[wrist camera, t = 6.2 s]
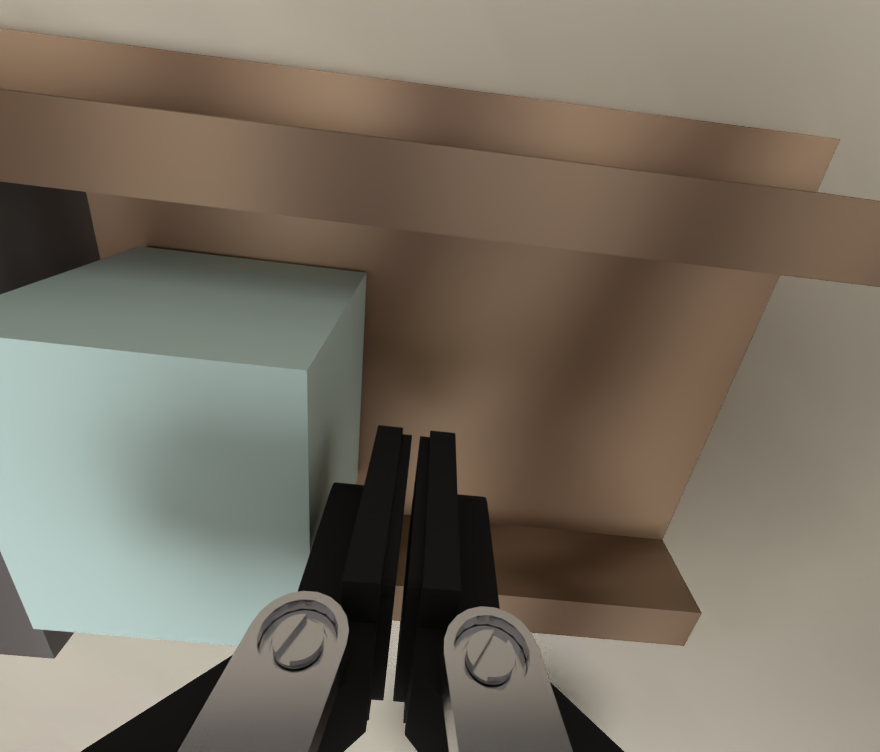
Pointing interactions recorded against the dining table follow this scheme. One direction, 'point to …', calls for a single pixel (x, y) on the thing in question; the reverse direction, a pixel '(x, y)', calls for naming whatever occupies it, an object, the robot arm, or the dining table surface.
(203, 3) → the dining table surface
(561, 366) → the rail board
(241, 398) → the block
